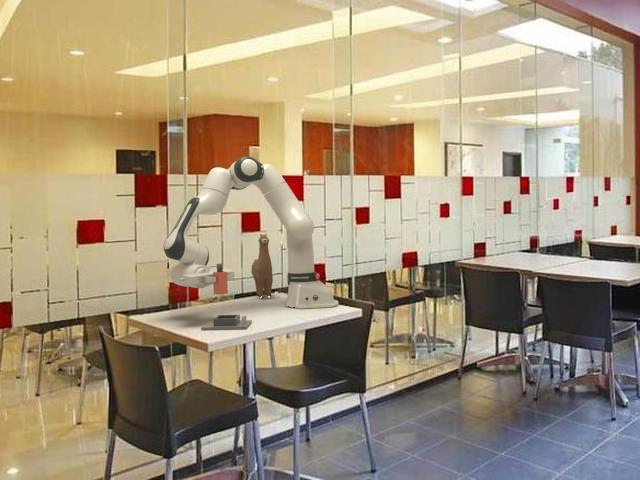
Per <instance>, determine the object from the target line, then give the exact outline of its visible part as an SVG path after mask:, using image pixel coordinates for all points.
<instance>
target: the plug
mask: <svg viewBox="0 0 640 480" xmlns="http://www.w3.org/2000/svg"><path fill="white" fill-rule="evenodd" d="M223 264H224V263H216V266H217V272H213V277H218V279H217V280H218V282H213V284H212V285H213V295H219V296H221V295H227V294H229V290H228V288H229V287H228V281H227V272H224V271H223V268H224V265H223Z"/></svg>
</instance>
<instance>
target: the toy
mask: <svg viewBox="0 0 640 480" xmlns="http://www.w3.org/2000/svg"><path fill="white" fill-rule="evenodd" d="M259 236H260V237H259V239H258V244H259V249H258V258H256V259H254V260H253V262H252V265H251V271H250V272H251V275H252V277H253V280H254V283H255V284H254V285H255V291H256V297H257V296H259V298H260V297H261V296H263V297H264V296H265V295H267V296H271V297H272V286H273V283H274V281H273V279H274V277H273V265H272V264H273V263H272V260H271V256H270V252H269V251H270V250H269V242H270V239H269V238H268V234H267V233H266V234H259ZM267 296H266V297H267Z"/></svg>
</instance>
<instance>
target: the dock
mask: <svg viewBox="0 0 640 480" xmlns="http://www.w3.org/2000/svg"><path fill="white" fill-rule="evenodd" d="M252 323H253V320H252V319H247V315H242V316H241V314H218V315H216V316H215V317H214V318H213V320H208V321H207V322H206V323H205V324H204V325H202V326H201V328H200V330H201V331H233V330H247V329H249V327H250V326H251V325H252Z"/></svg>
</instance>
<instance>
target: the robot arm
mask: <svg viewBox="0 0 640 480" xmlns="http://www.w3.org/2000/svg"><path fill="white" fill-rule="evenodd" d="M251 185H254V186H255V187H257V188H258V189H259V190H260V193H261V194H262V196H263V197H264V199H265V200H266V202H267V203H268V204H269V206H270V207H271V209H272V211H273V212H274V215H275V216H276V217H277V218H278V219H279V221H280V223H282V225H283V227H284V228H285V231H286V233H285V234H286V247H287V268H288V271H287V275H286V276H287V281H286V282H287V286H288V287H287V289H288V291H287V298H286V303H285V307H288V306H289V307H288V308H293V307H295V308H294V309H298V310H299V309H301V310H302V309H318V308H319V309H320V308H334V307H337V306H338V305H339V301H338V299H334V295H333V294H334V293H333V291H332V289H331V288H330V287H329V286H328V285H326V284H324V283H323V282H322V281H321V280H320V276H321V275H320V273H319V272H317V271H315V256H314V255H315V252H314V244H313V242H314V241H313V233H314V230H315V224H314V221H313V219H312V218H311V217H310V215H309V214H308V212H307V211H306V209H305V208H304V207H303V205H302V204H301V202H300V201H299V200H298V198H297V197H296V195H295V194H294V192H293V191H292V189H291V188H290V186H289V185H288V183H287V182H286V180H285V179H284V177H283V175H282V174H281V173H280V172H279V171H278V170H277V169H276V168H275V166H274V165H272V164H271V163H261V162H260V161H258V160H257V159H255V157H251V156H250V155H249V156H248V155H247V156H241V157H239V158H238V159H236V160H235V161H234V162H233V163H232V164H231V165H230V167H228V168H225V167H224V168H223V167H219V166H218V167H214V168H212V169H211V170H209V172H208V174H207V175H206V178H205V179H204V182H203V185H202V186H201V189H200V192H199V194H198V195H197V196H196V197H193V198H191V199H190V200H189V201H188V203H187V204H186V205H185V206H184V209H183V211H182V212H181V214H180V215H179V216H180V217H179V218H178V220H177V222H176V224H175V225H174V227H173V228H172V231H170V233H169V235H168V236H167V238H166V239H165V240H164V243H163V245H162V246H163V251H164V254H165V256H166V258H168V259H170V260H174V261H178V262H177V263H176V264H174V265H172V266H171V267H170V269H169V271H168V275H169V278H170V280H171V282H172V283H174V284H175V285H178V286H180V287H190V288H193V289H195V288H196V289H206V287H208V286H211V285H213V282H218V280H217V279H218V277H213V272H217V265H212V266H211V265H208V264H209V261H210V252H209V248H208V247H207V246H206V245H204V244H203V243H200V242H198V241H197V240H194V239H191V238H189V237H188V236H187V233H188V231H189V230H190V227H191V225H192V224H193V222H194V220H195V218H196V217H197V216H200V215H205V216H206V215H207V216H208V215H217V214H219V213H221V212H222V211H223V210H224V209H225V207H226V204H227V202H228V199H229V195H230V192H231V190H237V191H238V190H239V191H241V190H243V189H246V188H247V187H249V186H251ZM223 271H224V272H227V282H228V281H234V280H235V271H234V270H233V269H229V268H224V267H223Z"/></svg>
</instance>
